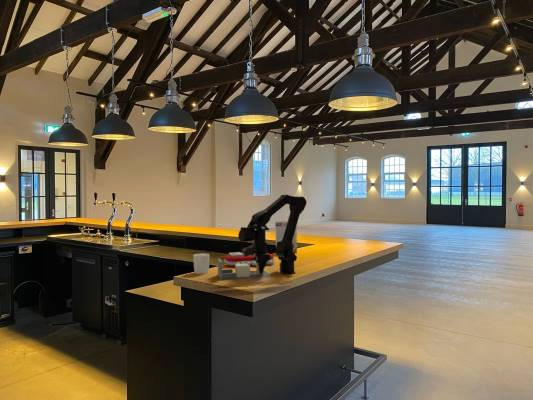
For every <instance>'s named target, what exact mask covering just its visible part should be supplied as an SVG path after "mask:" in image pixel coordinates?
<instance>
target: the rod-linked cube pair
mask: <svg viewBox="0 0 533 400" xmlns="http://www.w3.org/2000/svg"><path fill="white" fill-rule="evenodd" d="M255 267H256V270H251V267H250V265H249V264H235V269H234V273H236V276H237V277H250V273H257V274H260V271H259V266H258V263H256V266H255ZM264 271H265V269H264V270H263V273H261V274H264Z"/></svg>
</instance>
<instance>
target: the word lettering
mask: <svg viewBox="0 0 533 400" xmlns="http://www.w3.org/2000/svg"><path fill="white" fill-rule="evenodd" d="M267 254H269V255H270V256H271V260H269V261H267V264H266V266H265V267H267V266H271V265H275V258H274V255H273V254H271V253H269V252H267ZM252 257H254V255H252V256H251V255H249V256H247V257H245V256H244V254H243V252H242V251H241V252H240V251H239V252H238V251H237V252H236V251H235V252H229V253H228V254H226V255H225V256H224V258H223V262H224V264H225V266H227V267H228V268H231V269H233V268H235V264H249V265H250V268H251V267H256V261H255V260H254V259H253V258H252Z"/></svg>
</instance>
